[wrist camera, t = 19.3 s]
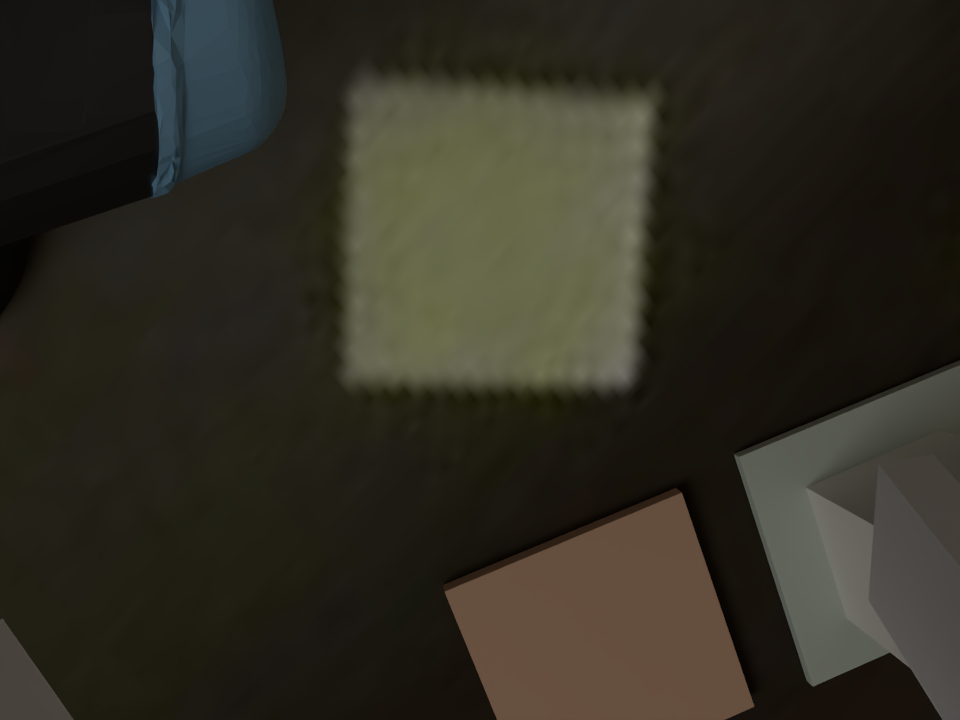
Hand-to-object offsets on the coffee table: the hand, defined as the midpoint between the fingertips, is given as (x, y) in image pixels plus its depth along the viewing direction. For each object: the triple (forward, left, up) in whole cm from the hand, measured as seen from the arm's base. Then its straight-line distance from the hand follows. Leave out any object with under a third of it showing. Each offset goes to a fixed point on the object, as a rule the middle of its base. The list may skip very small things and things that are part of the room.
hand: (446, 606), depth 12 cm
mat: (+22, -18, -27) cm, 39 cm away
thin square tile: (+5, -18, -27) cm, 33 cm away
